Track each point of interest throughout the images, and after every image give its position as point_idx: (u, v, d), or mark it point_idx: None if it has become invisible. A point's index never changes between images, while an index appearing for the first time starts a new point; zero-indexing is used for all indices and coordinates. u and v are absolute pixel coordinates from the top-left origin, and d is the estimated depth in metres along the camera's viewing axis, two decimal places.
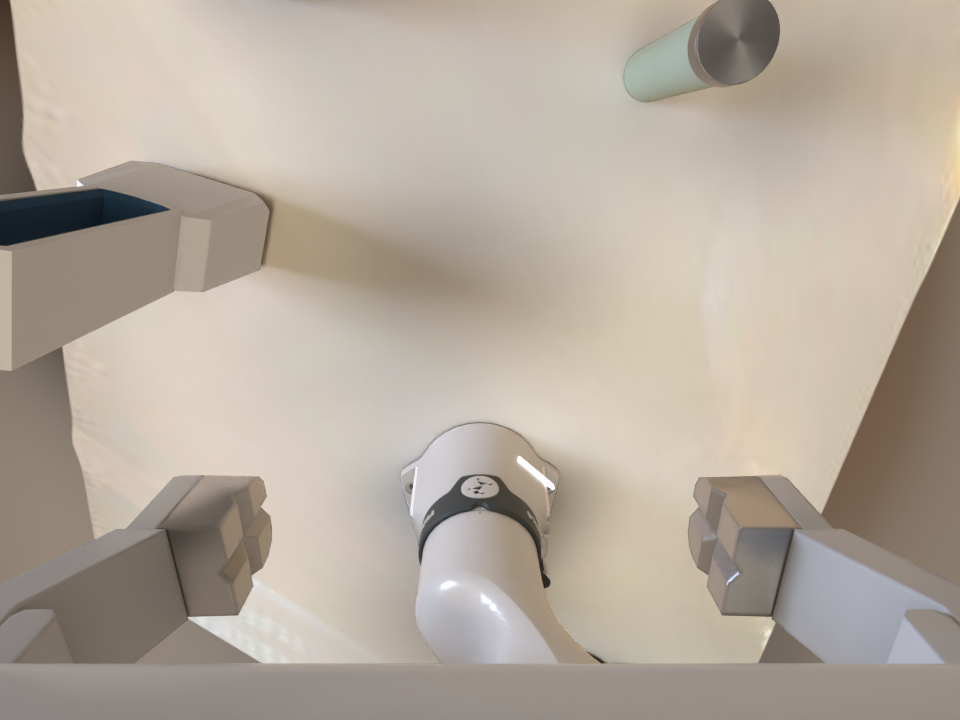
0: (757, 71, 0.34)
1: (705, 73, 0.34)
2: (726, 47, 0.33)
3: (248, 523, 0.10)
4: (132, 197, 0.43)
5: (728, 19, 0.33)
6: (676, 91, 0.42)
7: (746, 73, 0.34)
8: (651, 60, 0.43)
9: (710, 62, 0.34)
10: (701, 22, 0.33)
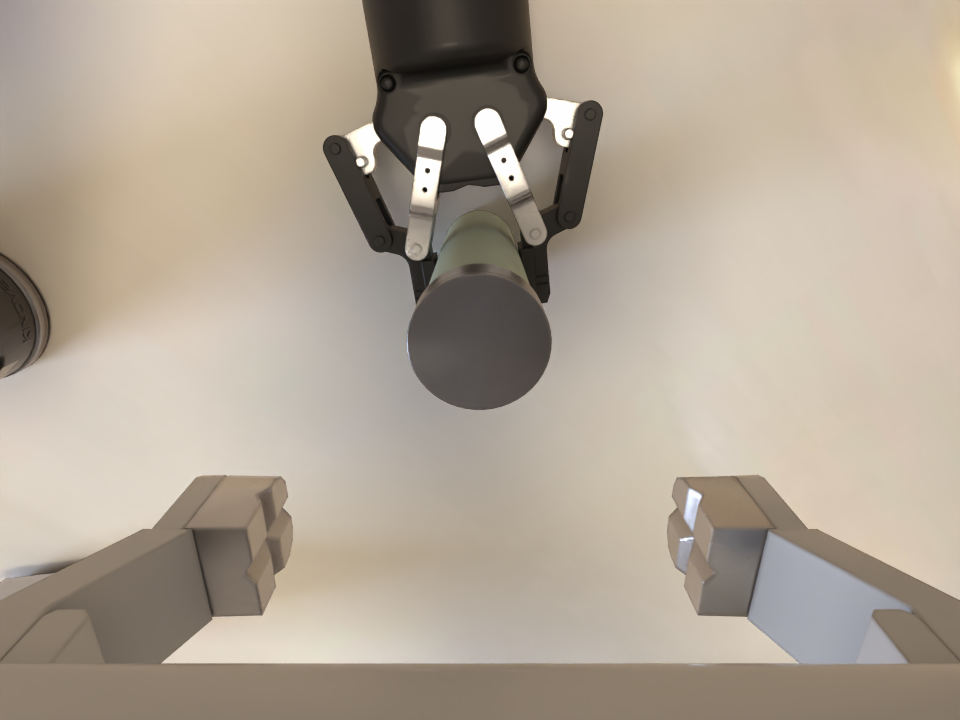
0: (538, 370, 0.19)
1: None
2: (467, 363, 0.19)
3: (271, 523, 0.10)
4: None
5: (445, 328, 0.18)
6: None
7: (522, 380, 0.19)
8: None
9: (456, 392, 0.19)
10: None
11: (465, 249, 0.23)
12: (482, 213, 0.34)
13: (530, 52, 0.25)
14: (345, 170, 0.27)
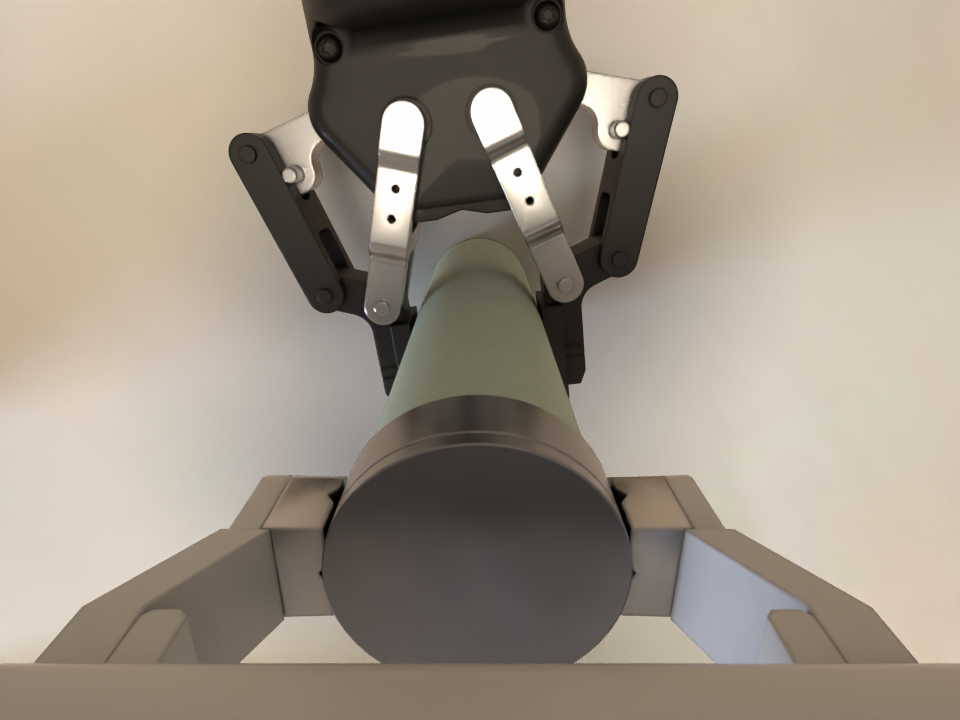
0: (603, 624, 0.09)
1: None
2: (453, 612, 0.09)
3: None
4: None
5: (404, 549, 0.08)
6: None
7: (568, 641, 0.09)
8: None
9: (430, 660, 0.09)
10: None
11: (453, 331, 0.13)
12: (483, 243, 0.24)
13: None
14: (266, 188, 0.17)
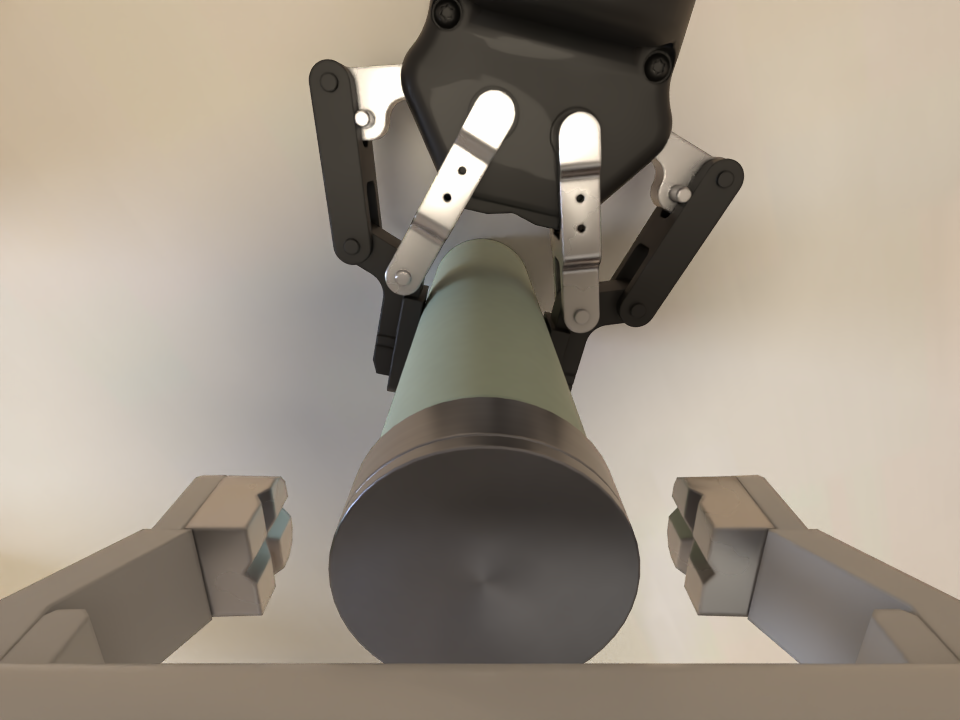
0: (624, 545, 0.08)
1: None
2: (494, 619, 0.09)
3: (271, 523, 0.10)
4: None
5: (407, 598, 0.09)
6: None
7: (612, 578, 0.09)
8: None
9: None
10: None
11: (491, 328, 0.13)
12: (503, 248, 0.24)
13: (678, 54, 0.16)
14: (334, 122, 0.17)
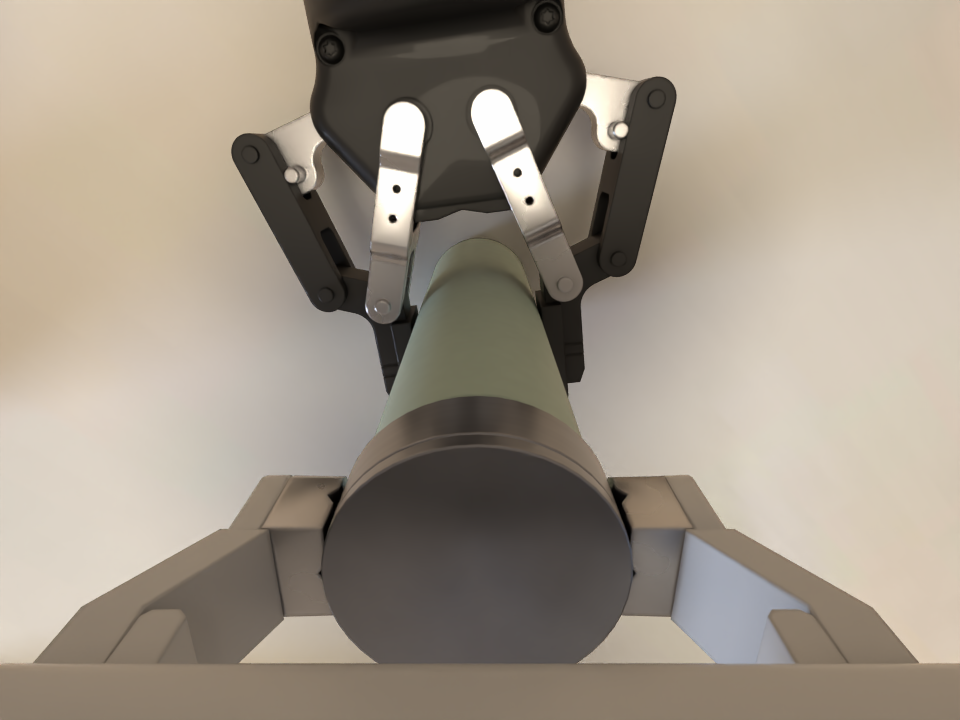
0: (596, 506, 0.08)
1: None
2: (503, 614, 0.09)
3: None
4: None
5: (413, 617, 0.09)
6: None
7: (599, 543, 0.08)
8: None
9: (548, 652, 0.09)
10: None
11: (454, 330, 0.13)
12: (483, 243, 0.24)
13: None
14: (268, 188, 0.17)
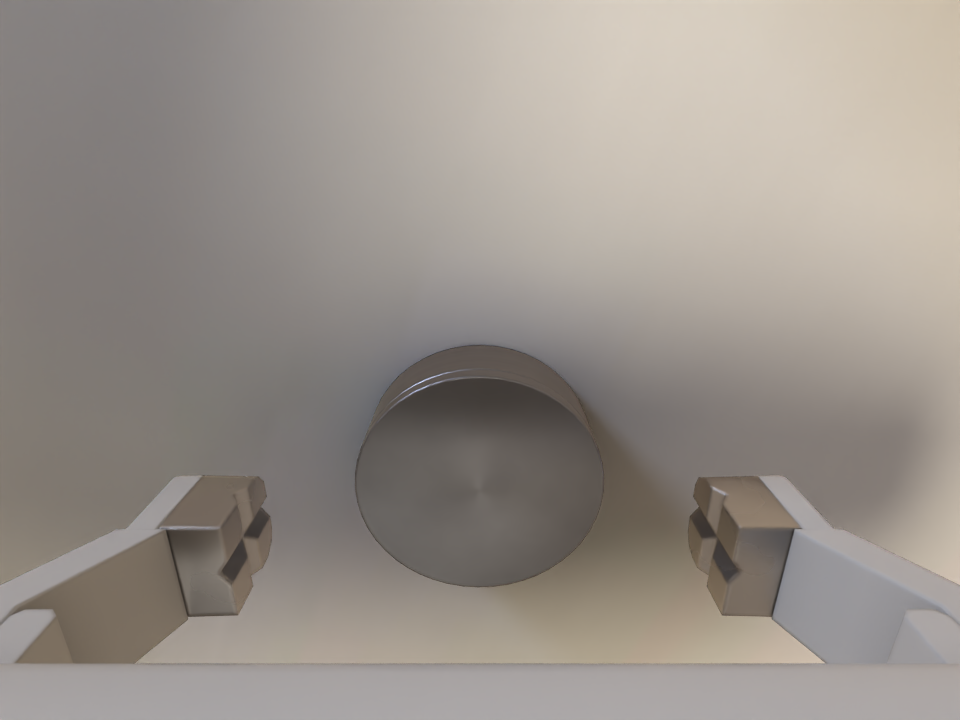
0: (573, 427, 0.10)
1: None
2: (500, 518, 0.11)
3: (248, 523, 0.10)
4: None
5: (427, 521, 0.11)
6: None
7: (576, 457, 0.11)
8: None
9: (537, 552, 0.11)
10: None
11: None
12: None
13: None
14: None
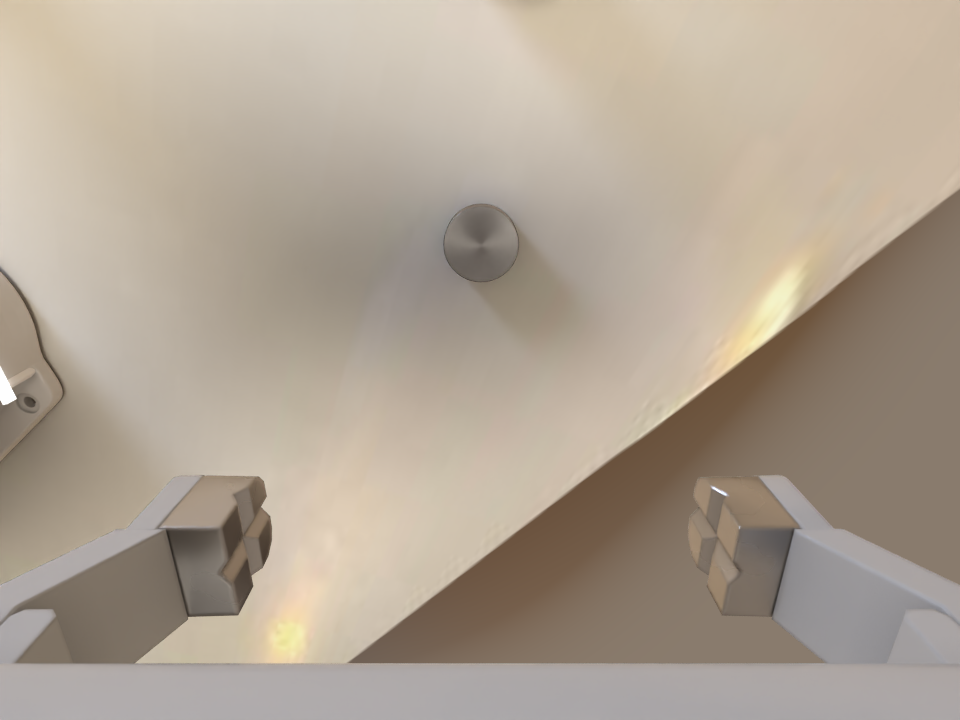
0: (508, 223, 0.35)
1: (507, 270, 0.37)
2: (487, 255, 0.36)
3: (248, 523, 0.10)
4: None
5: (465, 256, 0.36)
6: None
7: (509, 233, 0.36)
8: None
9: (499, 268, 0.37)
10: None
11: None
12: None
13: None
14: None
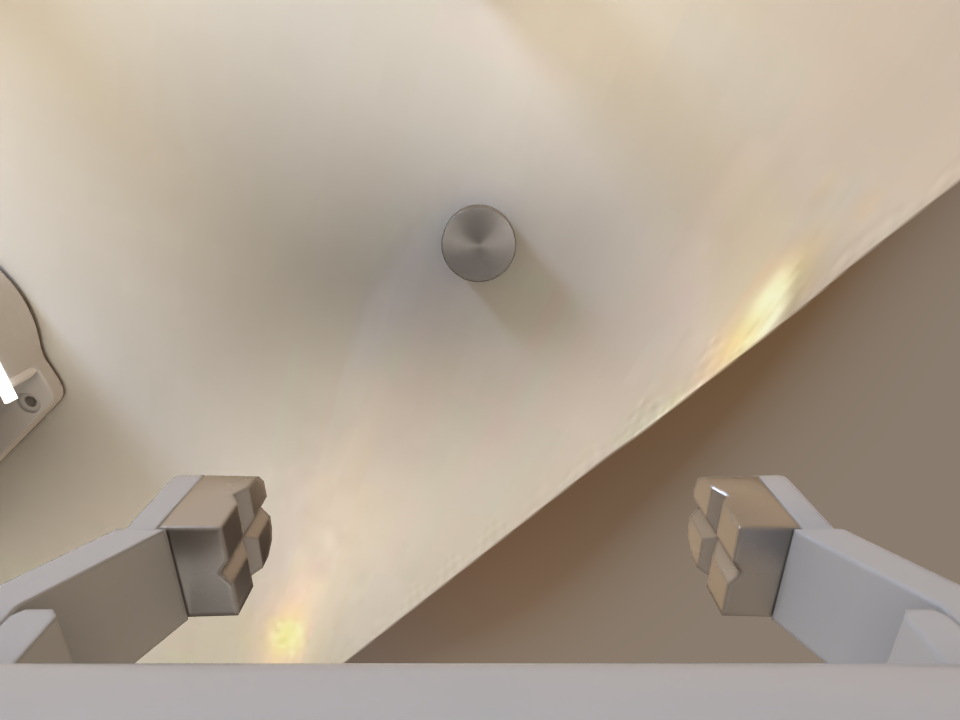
0: (505, 223, 0.36)
1: (504, 270, 0.37)
2: (484, 255, 0.37)
3: (248, 523, 0.10)
4: None
5: (463, 256, 0.37)
6: None
7: (506, 234, 0.36)
8: None
9: (496, 268, 0.37)
10: None
11: None
12: None
13: None
14: None
